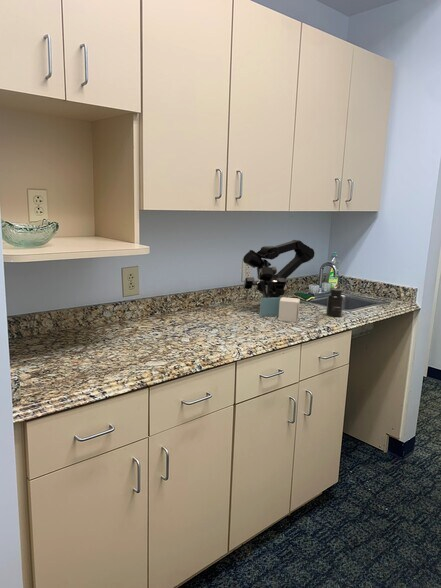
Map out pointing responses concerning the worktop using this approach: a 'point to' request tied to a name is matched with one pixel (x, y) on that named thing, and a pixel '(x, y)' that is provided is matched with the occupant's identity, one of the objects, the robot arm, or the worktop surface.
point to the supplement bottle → (335, 303)
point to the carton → (289, 309)
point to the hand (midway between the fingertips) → (266, 298)
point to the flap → (269, 306)
